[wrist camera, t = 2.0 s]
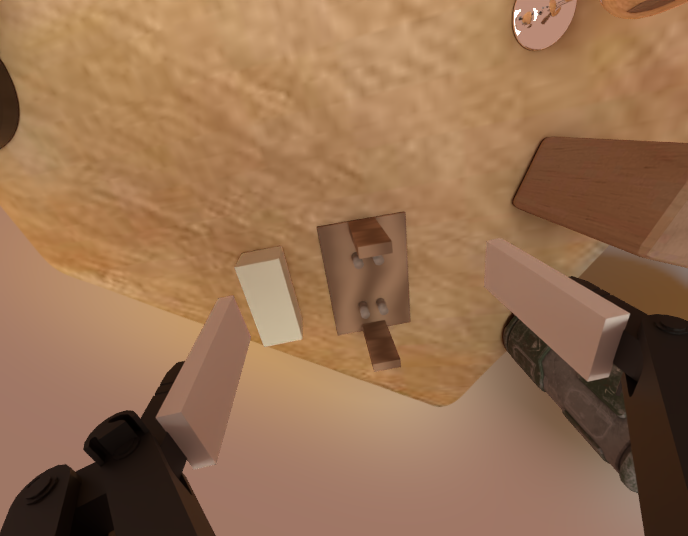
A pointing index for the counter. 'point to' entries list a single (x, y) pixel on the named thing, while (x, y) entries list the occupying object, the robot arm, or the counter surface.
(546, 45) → the wineglass
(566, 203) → the block
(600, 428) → the canister
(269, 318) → the cream rectangular block
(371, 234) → the peg frame
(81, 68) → the counter surface
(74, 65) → the counter surface
